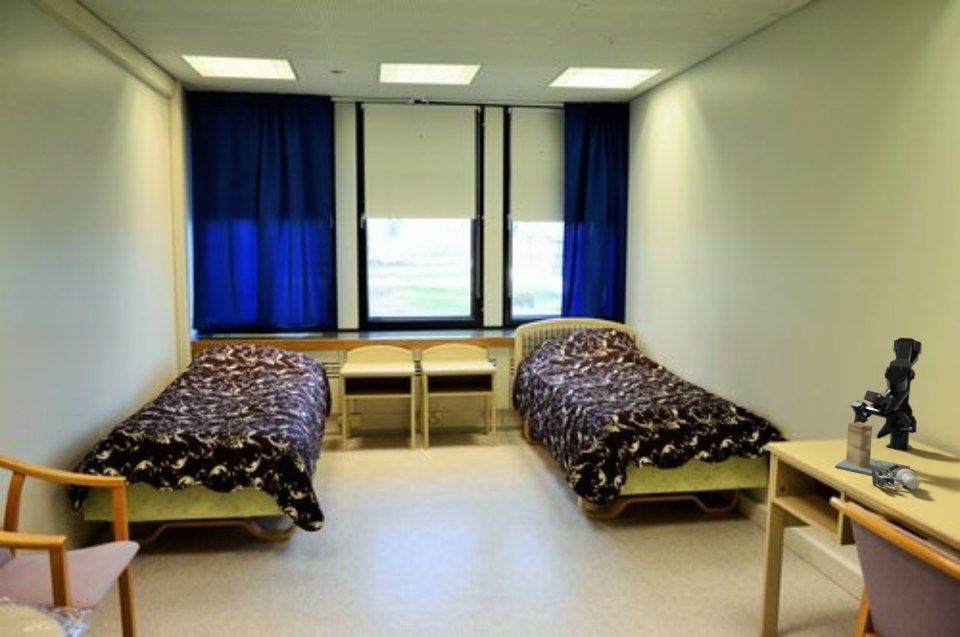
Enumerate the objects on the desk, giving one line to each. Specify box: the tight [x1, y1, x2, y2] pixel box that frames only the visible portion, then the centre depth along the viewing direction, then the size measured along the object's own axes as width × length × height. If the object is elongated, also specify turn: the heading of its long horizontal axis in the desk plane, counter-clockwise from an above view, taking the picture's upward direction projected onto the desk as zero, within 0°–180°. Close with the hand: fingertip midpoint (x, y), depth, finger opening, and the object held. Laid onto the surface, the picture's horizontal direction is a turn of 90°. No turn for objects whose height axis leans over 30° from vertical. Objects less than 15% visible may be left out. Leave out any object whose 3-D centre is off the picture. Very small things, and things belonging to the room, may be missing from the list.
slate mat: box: [834, 457, 911, 478], centre depth 223 cm, size 16×17×1 cm
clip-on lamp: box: [871, 459, 921, 492], centre depth 208 cm, size 12×6×18 cm
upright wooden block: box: [845, 422, 873, 467], centre depth 224 cm, size 5×5×13 cm
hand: (865, 434), depth 225 cm, fingers open, 9 cm apart
